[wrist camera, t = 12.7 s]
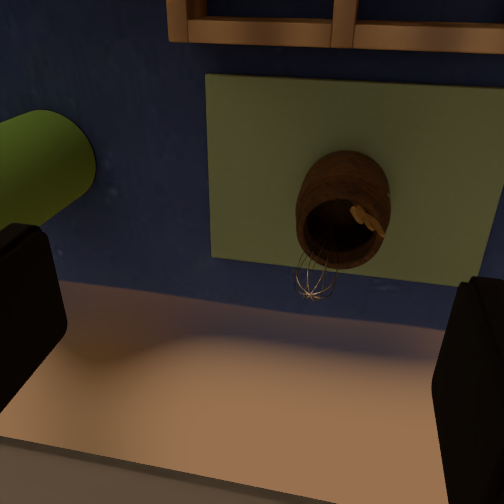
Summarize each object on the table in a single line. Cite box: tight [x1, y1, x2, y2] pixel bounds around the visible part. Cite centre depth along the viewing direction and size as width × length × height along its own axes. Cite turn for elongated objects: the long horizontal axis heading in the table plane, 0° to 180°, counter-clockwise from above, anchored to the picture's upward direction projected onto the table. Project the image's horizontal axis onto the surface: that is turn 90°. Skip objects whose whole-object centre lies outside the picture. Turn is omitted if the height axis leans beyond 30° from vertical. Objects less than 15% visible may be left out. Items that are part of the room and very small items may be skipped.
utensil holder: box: [294, 150, 391, 302], centre depth 28 cm, size 6×6×12 cm
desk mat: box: [205, 73, 504, 287], centre depth 34 cm, size 20×14×1 cm
